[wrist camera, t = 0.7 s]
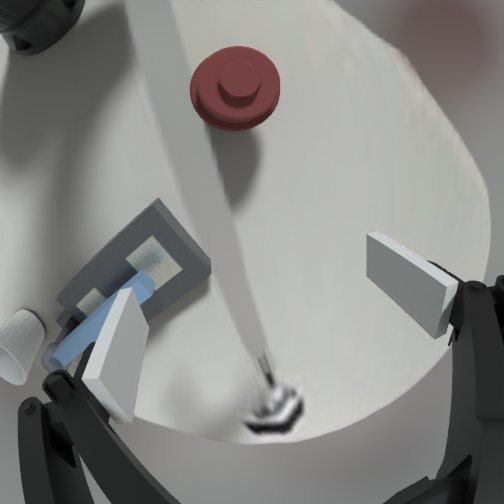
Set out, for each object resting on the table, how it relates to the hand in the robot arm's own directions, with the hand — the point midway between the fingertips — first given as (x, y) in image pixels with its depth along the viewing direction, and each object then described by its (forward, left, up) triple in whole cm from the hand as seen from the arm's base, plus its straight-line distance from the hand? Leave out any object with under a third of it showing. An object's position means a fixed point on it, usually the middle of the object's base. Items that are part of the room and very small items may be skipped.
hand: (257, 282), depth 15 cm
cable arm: (0, -24, -17) cm, 30 cm away
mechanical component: (-11, +9, -27) cm, 30 cm away
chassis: (0, -18, -27) cm, 32 cm away
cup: (-6, -44, -27) cm, 52 cm away
